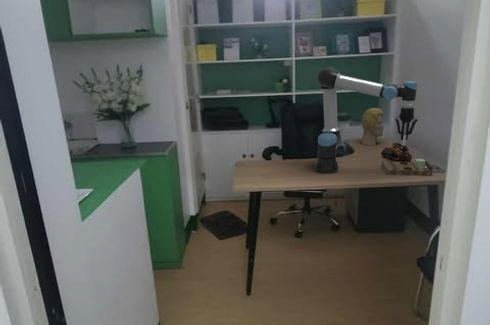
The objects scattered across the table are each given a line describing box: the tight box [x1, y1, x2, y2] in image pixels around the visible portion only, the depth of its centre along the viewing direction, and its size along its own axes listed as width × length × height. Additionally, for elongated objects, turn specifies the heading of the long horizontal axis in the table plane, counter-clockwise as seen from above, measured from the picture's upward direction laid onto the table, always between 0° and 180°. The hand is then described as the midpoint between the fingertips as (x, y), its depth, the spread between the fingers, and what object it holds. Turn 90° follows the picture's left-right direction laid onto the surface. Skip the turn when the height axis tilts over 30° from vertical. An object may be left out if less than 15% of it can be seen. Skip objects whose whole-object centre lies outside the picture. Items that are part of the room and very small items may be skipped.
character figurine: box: [380, 142, 414, 162], centre depth 250 cm, size 17×11×28 cm
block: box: [414, 158, 427, 167], centre depth 226 cm, size 5×5×4 cm
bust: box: [361, 107, 385, 146], centre depth 297 cm, size 18×18×30 cm
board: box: [381, 158, 433, 176], centre depth 228 cm, size 26×19×6 cm
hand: (403, 145), depth 225 cm, fingers closed
